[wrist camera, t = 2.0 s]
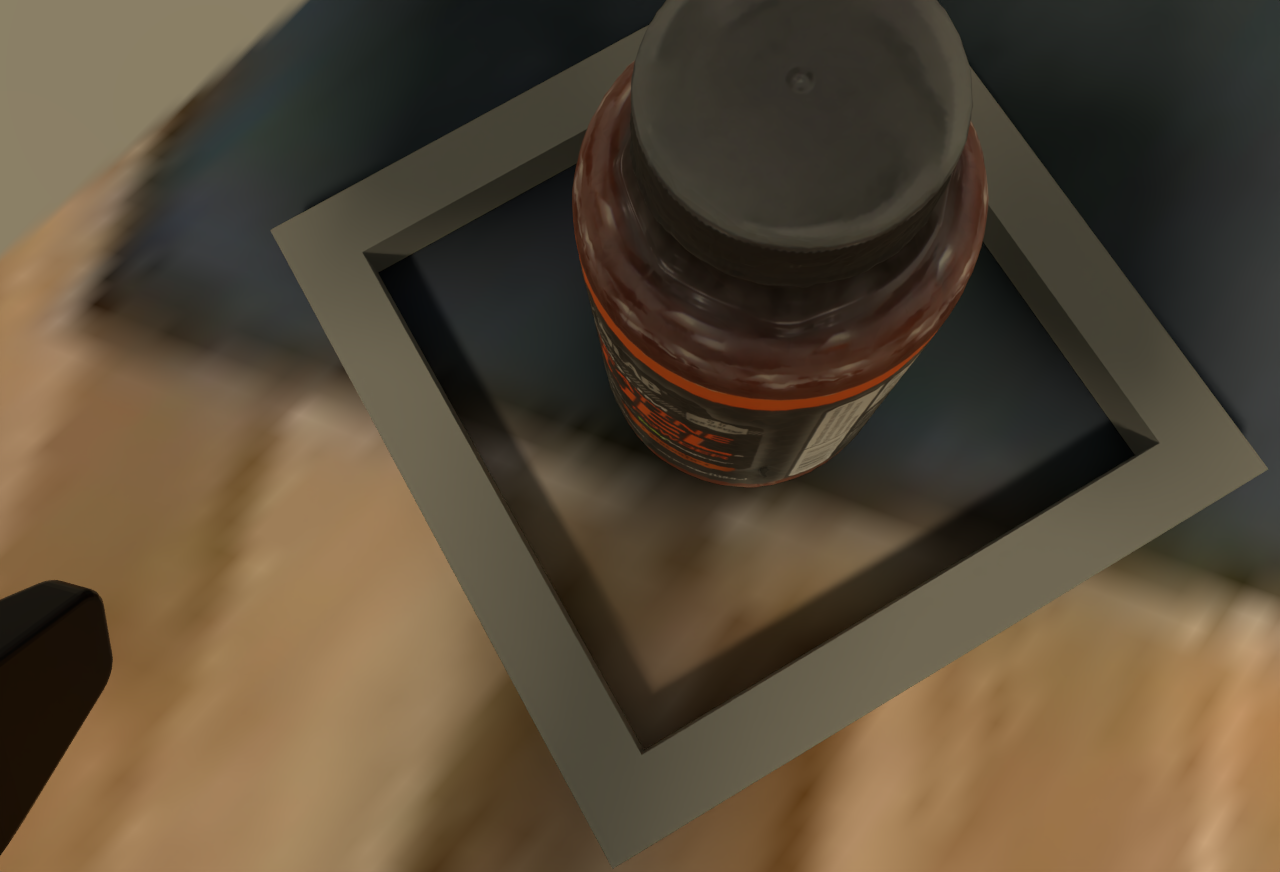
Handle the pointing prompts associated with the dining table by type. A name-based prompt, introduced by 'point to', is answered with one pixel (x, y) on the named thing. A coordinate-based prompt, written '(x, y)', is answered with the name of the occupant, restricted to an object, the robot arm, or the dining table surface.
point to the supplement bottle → (776, 223)
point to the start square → (861, 654)
